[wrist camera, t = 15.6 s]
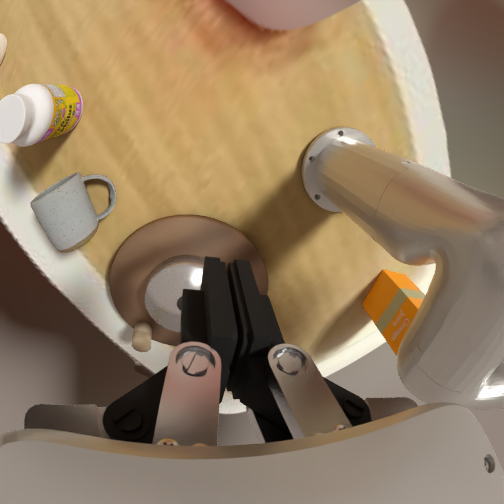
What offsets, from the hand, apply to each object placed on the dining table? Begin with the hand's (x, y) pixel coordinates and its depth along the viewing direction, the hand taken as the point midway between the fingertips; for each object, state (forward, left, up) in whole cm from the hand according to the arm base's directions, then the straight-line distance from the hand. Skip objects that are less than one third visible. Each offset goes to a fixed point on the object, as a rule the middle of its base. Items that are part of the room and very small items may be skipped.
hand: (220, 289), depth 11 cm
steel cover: (-2, +18, -23) cm, 30 cm away
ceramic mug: (+16, +8, -26) cm, 31 cm away
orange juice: (-40, +15, -26) cm, 50 cm away
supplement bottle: (+20, -4, -26) cm, 33 cm away
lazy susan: (-2, +19, -26) cm, 32 cm away
